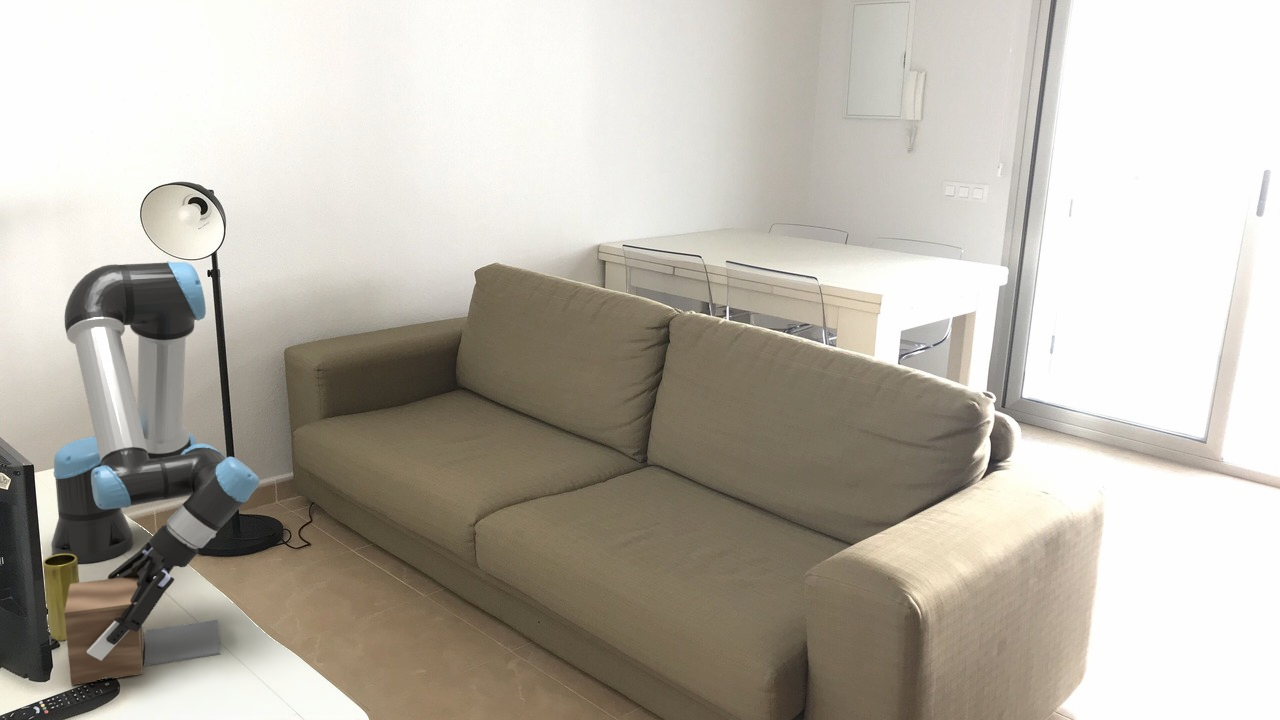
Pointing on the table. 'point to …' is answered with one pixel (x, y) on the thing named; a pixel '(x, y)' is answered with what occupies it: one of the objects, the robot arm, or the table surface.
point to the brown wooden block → (100, 629)
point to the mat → (182, 642)
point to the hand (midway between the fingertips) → (89, 638)
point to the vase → (59, 590)
